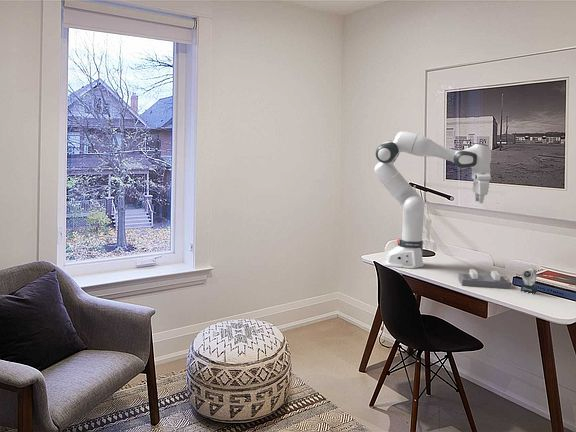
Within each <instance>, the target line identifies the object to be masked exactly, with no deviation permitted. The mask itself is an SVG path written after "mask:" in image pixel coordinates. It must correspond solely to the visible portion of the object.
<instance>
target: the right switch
mask: <svg viewBox="0 0 576 432" xmlns="http://www.w3.org/2000/svg"><path fill="white" fill-rule="evenodd" d="M490 275H491V277H492V278H493V279H494V280H495V281H500V276H501V274H500V273H499V272H498V271H497V270H490Z"/></svg>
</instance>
